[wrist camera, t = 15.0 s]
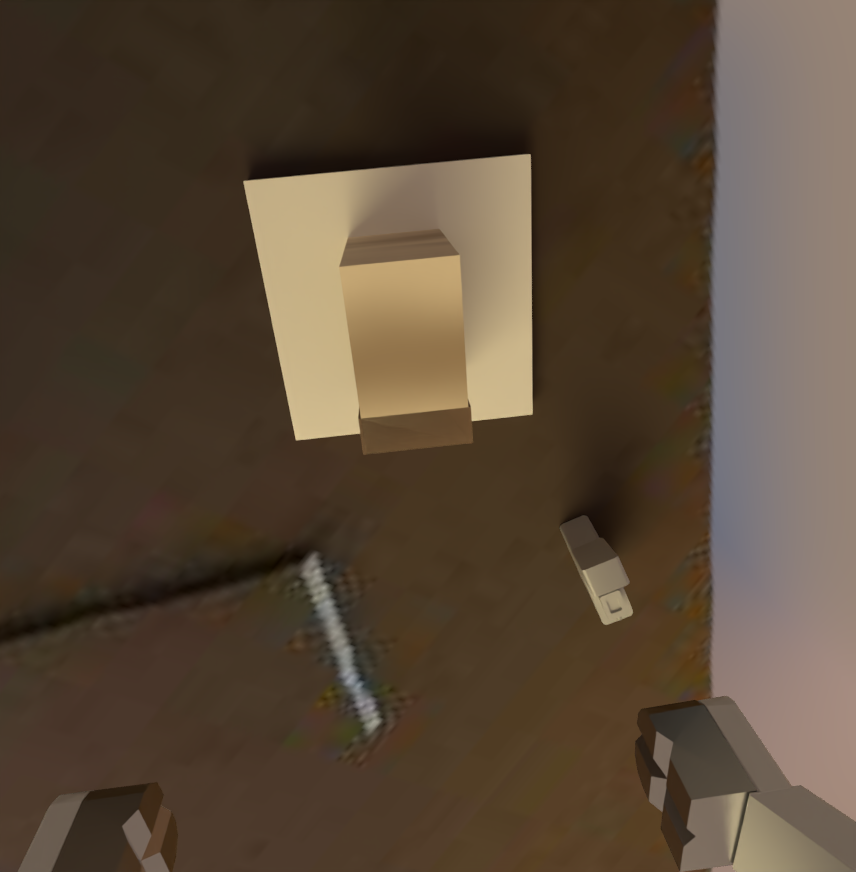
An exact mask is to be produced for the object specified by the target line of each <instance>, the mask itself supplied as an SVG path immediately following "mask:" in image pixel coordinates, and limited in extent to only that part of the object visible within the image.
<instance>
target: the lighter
mask: <svg viewBox="0 0 856 872" xmlns="http://www.w3.org/2000/svg"><path fill="white" fill-rule="evenodd" d="M559 528H560V530H561V533H562V535H563V537H564V539H565V542H566V544H567V546H568V549H569V551H570V553H571V555H572V558H573V560H574V562H575V565H576V567H577V569H578V571H579V574H580V576H581V578H582V580H583V582H584V584H585V586H586V589H587V591H588V593H589V595H590V597H591V599H592V601H593V603H594V606H595V608H596V610H597V612H598V614H599V616H600V618H601V620H602V622H603V624H606V625H608V624H610V623H613V622H616V621H618V620H619V621H620V620H621V619H623V618H626V617H628V616H631V615H632V613H633V610H632V608H631V605H630V603H629V600H628V598H627V595H626V593H625V590H624V588H623V586H626V585H628V584H629V583H630V582H629V579H628V577H627V575H626V573H625V571H624V568H623V566H622V564H621V562H620V559H619V557H618V555H617V554H616V553H615V552H614V550H613V549H612V548H611V547H610V546H609V545H608V543H607V542H606V541H605V540H604V539H603V538H599V536H598V534H597V532H596V531H595V529H594V527H593V525H592V524H591V522H590V520H589V518H588V517H587V516H585V515H583V516H580V517H578V518H575V519H573V520H570V521H568V522H566V523H563V524H561V526H560V527H559Z"/></svg>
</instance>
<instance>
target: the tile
mask: <svg viewBox="0 0 856 872" xmlns="http://www.w3.org/2000/svg"><path fill="white" fill-rule="evenodd" d="M243 182H244V187H245V192H246V197H247V202H248V206H249V211H250V216H251V221H252V226H253V231H254V236H255V241H256V246H257V251H258V256H259V261H260V265H261V270H262V275H263V280H264V285H265V290H266V295H267V300H268V305H269V310H270V315H271V320H272V325H273V329H274V334H275V339H276V344H277V349H278V354H279V359H280V364H281V369H282V374H283V379H284V384H285V389H286V393H287V398H288V403H289V408H290V413H291V418H292V423H293V428H294V433H295V438H296V440H304V439H313V438H322V437H331V436H340V435H349V434H358V433H360V428H359V421H358V415H359V402H358V395H357V388H356V381H355V374H354V367H353V360H352V353H351V346H350V339H349V332H348V325H347V318H346V311H345V304H344V297H343V290H342V283H341V276H340V270H339V266H340V262H341V259H342V256H343V252H344V249H345V246H346V242H347V239H348V238H349V237H359V236H370V235H380V234H390V233H401V232H411V231H422V230H432V229H440V230H441V231H442V233H443V234H444V235H445V237H446V238H447V239H448V241H449V242H450V243H451V244H452V246H453V247H454V248H455V250H456V251H457V252H458V253H459V255H460V267H461V285H462V303H463V321H464V339H465V357H466V375H467V393H468V400H469V403H470V406H471V417H472V421H477V420H486V419H495V418H504V417H513V416H522V415H532V414H533V411H532V257H531V154H518V155H507V156H497V157H486V158H475V159H465V160H454V161H444V162H433V163H422V164H412V165H401V166H391V167H380V168H369V169H359V170H348V171H338V172H327V173H316V174H306V175H295V176H285V177H274V178H264V179H253V180H246V181H243Z"/></svg>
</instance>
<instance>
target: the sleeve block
mask: <svg viewBox="0 0 856 872" xmlns="http://www.w3.org/2000/svg"><path fill="white" fill-rule="evenodd" d="M339 270H340V276H341V283H342V290H343V297H344V304H345V311H346V318H347V325H348V332H349V339H350V346H351V353H352V360H353V367H354V374H355V381H356V388H357V395H358V402H359V415H358V421H359V428H360V434H361V441H362V448H363V455H365V454H374V453H383V452H392V451H402V450H411V449H420V448H429V447H438V446H448V445H457V444H466V443H473V435H472V417H471V406H470V403H469V400H468V393H467V375H466V357H465V339H464V321H463V303H462V285H461V267H460V255H459V253H458V252H457V251H456V250H455V248H454V247H453V246H452V244H451V243H450V242H449V241H448V239H447V238H446V237H445V235H444V234H443V233H442V231H441V230H440V229H432V230H422V231H411V232H401V233H390V234H380V235H370V236H359V237H349V238H348V239H347V242H346V246H345V249H344V252H343V256H342V259H341V262H340V266H339Z"/></svg>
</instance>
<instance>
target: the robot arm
mask: <svg viewBox="0 0 856 872" xmlns="http://www.w3.org/2000/svg"><path fill="white" fill-rule="evenodd" d="M637 725H638V727H639V729H640V731H641V733H642V735H641V736H640V737H639V738H638V739H637V740H636V741H635V758H636V764H637V770H638V774H639V777H640V780H641V783H642V786H643V789H644V791H645V793H646V796H647V798H648V800H649V802H651V803H652V804H653V805H654V806H656V807H657V808H658V809H659V810H661V811H662V812H663V813H662V822H661V830H662V833H663V835H664V837H665V839H666V842H667V844H668V846H669V848H670V851H671V853H672V855H673V857H674V860H675V862H676V864H677V866H678V869H679V871H680V872H682V871H690V870H698V869H705V868H713V867H721V866H728V865H733V869H734V870H735V871H736V872H856V822H855V821H854V820H852V819H851V818H849V817H848V816H846V815H845V814H843V813H842V812H840V811H839V810H837V809H836V808H834V807H833V806H831V805H830V804H828V803H827V802H825V801H824V800H822V799H821V798H819V797H818V796H816V795H815V794H813V793H812V792H810V791H809V790H807V789H806V788H804V787H803V786H791V784H790V783H789V781H788V780H787V778H786V777H785V775H784V774H783V772H782V771H781V769H780V768H779V766H778V765H777V764H776V762H775V761H774V759H773V758H772V756H771V755H770V753H769V752H768V750H767V749H766V748H765V746H764V744H763V743H762V741H761V740H760V738H759V737H758V735H757V734H756V733H755V731H754V730H753V728H752V727H751V725H750V724H749V722H748V721H747V719H746V718H745V716H744V715H743V713H742V712H741V711H740V709H739V708H738V706H737V705H736V703H735V702H734V701H733V700H732V699H731V698H729V697H727V696H722V697H716V698H710V699H705V700H699V701H696V700H692V701H686V702H680V703H674V704H668V705H662V706H656V707H650V708H644V709H641V710H640V712H639V713H638V720H637ZM163 796H164V794H163V792H162V790H161V788H160V786H159V785H158V783H157V782H155V783H147V784H140V785H132V786H124V787H117V788H109V789H101V790H92V791H85V792H78V793H71V794H64V795H59V796H58V797H57V798H56V800H55V801H54V802H53V803H52V804H51V805H50V807H49V808H48V810H47V812H46V814H45V816H44V818H43V820H42V823H41V825H40V827H39V829H38V831H37V833H36V835H35V837H34V839H33V841H32V843H31V845H30V847H29V849H28V851H27V853H26V856H25V858H24V860H23V862H22V864H21V866H20V868H19V870H18V872H172V871H173V867H174V863H175V859H176V853H177V839H178V832H177V826H176V820H175V818H174V816H173V814H172V811H170V810H168V809H166V808H164V807H162V806H161V802H162V799H163Z"/></svg>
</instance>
